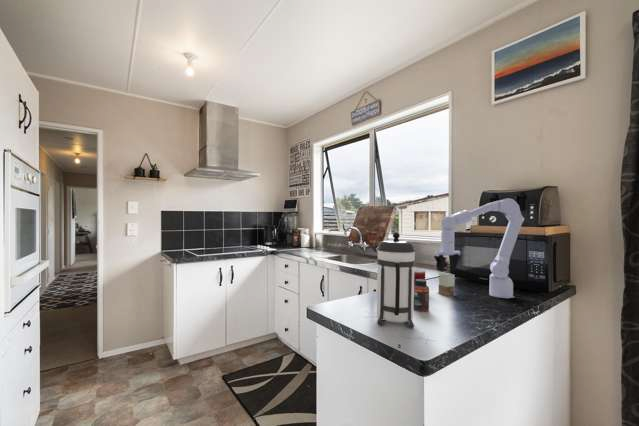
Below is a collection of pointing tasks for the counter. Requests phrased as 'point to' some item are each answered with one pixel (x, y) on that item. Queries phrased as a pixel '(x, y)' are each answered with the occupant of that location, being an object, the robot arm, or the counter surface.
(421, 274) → the canned food
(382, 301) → the coffee press
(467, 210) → the robot arm
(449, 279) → the sage block
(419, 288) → the supplement bottle
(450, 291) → the walnut block
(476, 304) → the counter surface
